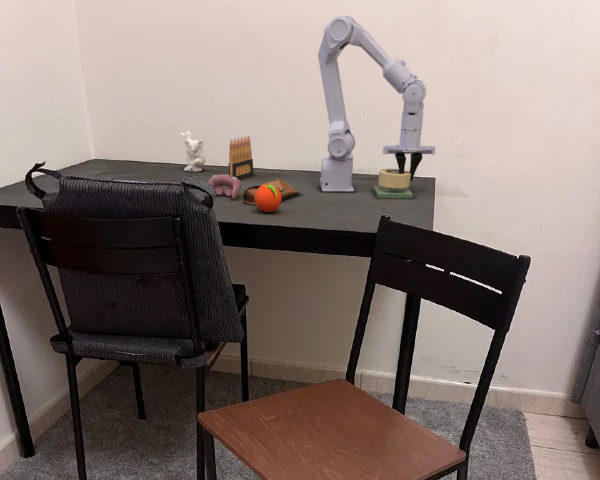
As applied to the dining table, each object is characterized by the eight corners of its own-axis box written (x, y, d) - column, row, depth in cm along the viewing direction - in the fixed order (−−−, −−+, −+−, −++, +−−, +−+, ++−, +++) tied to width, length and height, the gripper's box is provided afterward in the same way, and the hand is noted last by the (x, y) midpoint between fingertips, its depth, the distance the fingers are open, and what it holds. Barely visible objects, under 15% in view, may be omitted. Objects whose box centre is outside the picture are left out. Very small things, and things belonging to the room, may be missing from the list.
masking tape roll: (380, 187, 175) (382, 174, 173) (376, 180, 182) (377, 168, 180) (411, 189, 175) (413, 175, 173) (405, 182, 183) (407, 169, 181)
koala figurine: (177, 171, 203) (174, 131, 197) (191, 167, 208) (188, 129, 202) (197, 174, 200) (194, 134, 193) (210, 170, 205) (208, 131, 198)
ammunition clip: (233, 181, 192) (231, 139, 186) (228, 180, 193) (226, 139, 186) (253, 175, 200) (252, 135, 193) (249, 174, 200) (247, 134, 194)
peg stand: (378, 198, 176) (379, 175, 172) (373, 190, 184) (374, 168, 181) (412, 198, 176) (415, 175, 173) (406, 190, 185) (408, 168, 181)
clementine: (288, 214, 159) (288, 185, 156) (265, 217, 156) (265, 188, 153) (272, 207, 165) (272, 179, 161) (250, 210, 162) (249, 182, 158)
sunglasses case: (268, 205, 165) (257, 181, 163) (250, 215, 169) (239, 192, 168) (302, 192, 178) (292, 170, 176) (284, 202, 182) (274, 180, 181)
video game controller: (240, 203, 175) (244, 177, 174) (234, 198, 170) (238, 173, 170) (209, 199, 177) (212, 175, 177) (202, 195, 173) (206, 170, 172)
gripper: (387, 131, 167) (383, 183, 174) (440, 132, 168) (433, 183, 175) (383, 127, 173) (379, 178, 180) (434, 128, 174) (428, 178, 181)
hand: (406, 180), depth 178 cm, fingers closed on masking tape roll, 2 cm apart
